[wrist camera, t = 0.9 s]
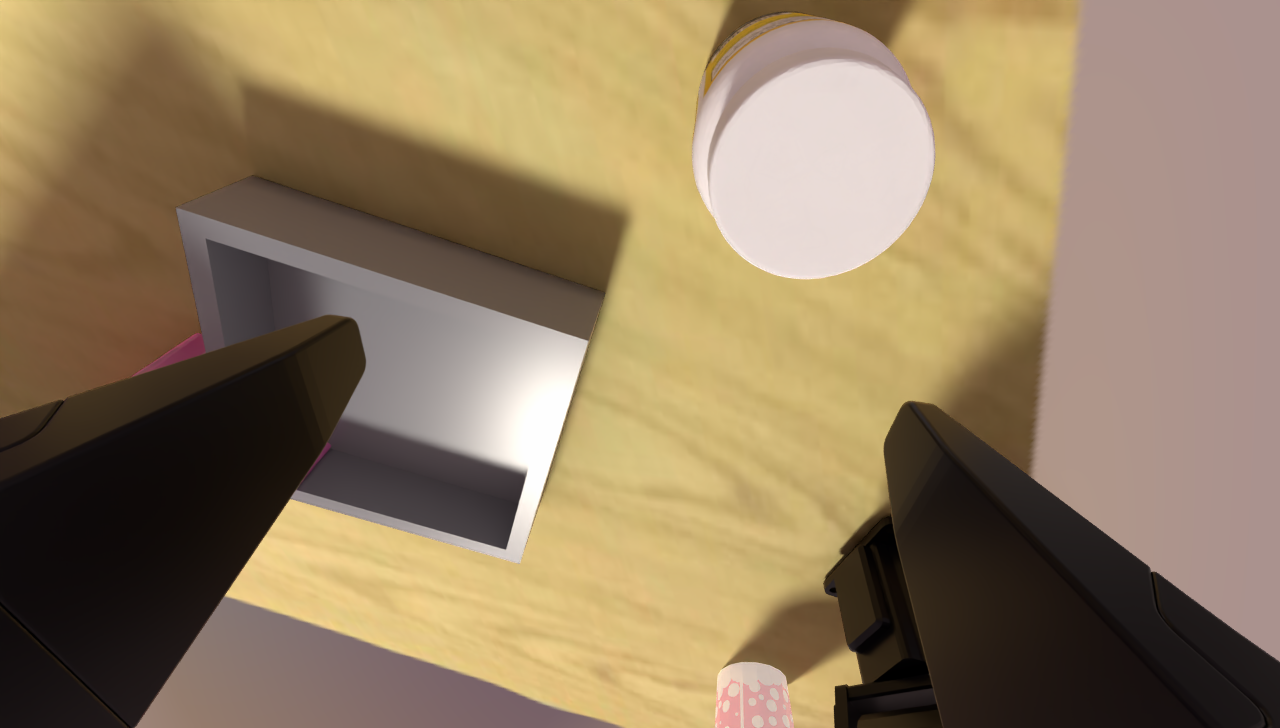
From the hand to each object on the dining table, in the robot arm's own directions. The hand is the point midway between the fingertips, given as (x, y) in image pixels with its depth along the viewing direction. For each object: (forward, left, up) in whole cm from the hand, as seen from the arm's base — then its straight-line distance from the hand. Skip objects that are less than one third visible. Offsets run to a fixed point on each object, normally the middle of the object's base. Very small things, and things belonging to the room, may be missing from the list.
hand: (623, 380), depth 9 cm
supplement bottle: (-2, -3, -12) cm, 12 cm away
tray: (+8, +12, -12) cm, 18 cm away
